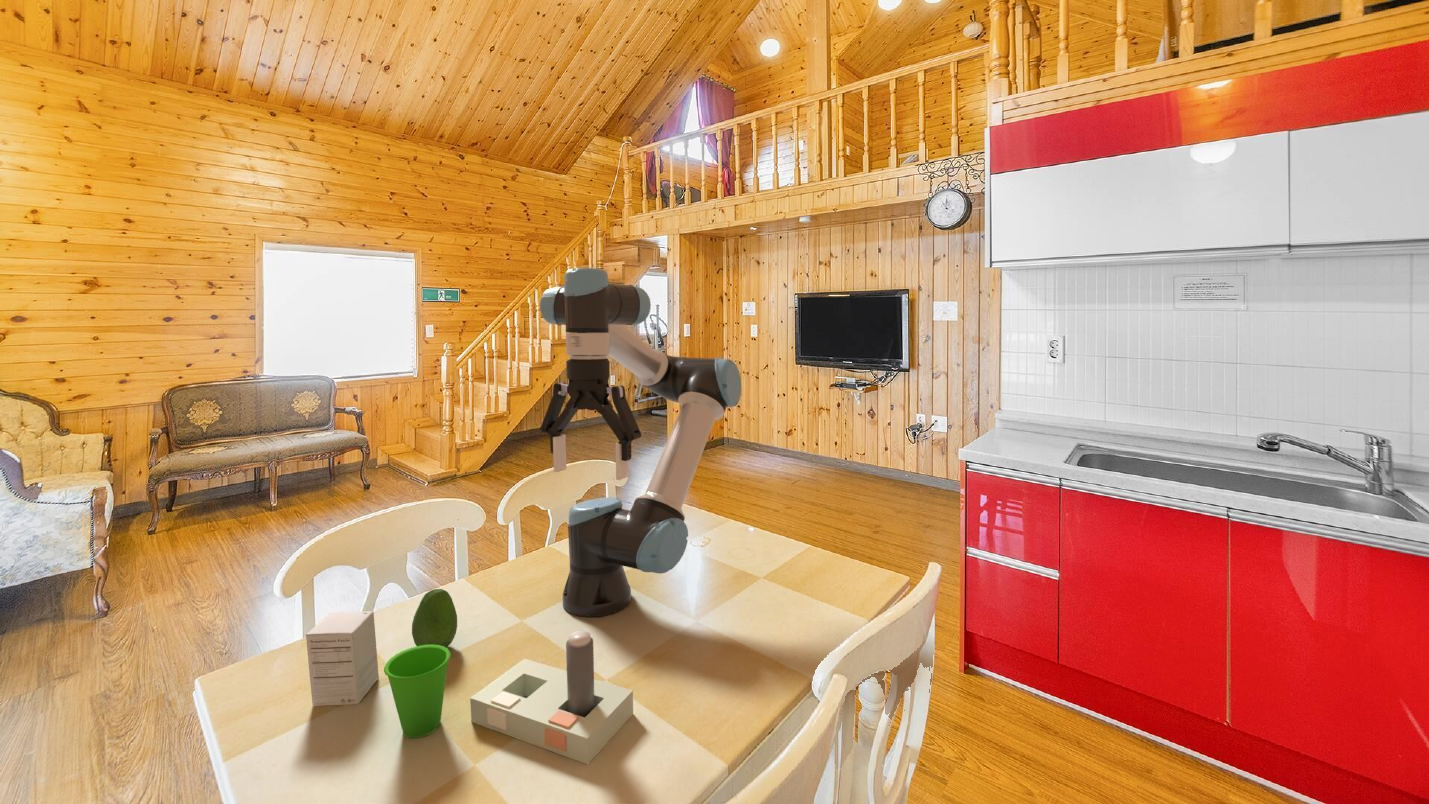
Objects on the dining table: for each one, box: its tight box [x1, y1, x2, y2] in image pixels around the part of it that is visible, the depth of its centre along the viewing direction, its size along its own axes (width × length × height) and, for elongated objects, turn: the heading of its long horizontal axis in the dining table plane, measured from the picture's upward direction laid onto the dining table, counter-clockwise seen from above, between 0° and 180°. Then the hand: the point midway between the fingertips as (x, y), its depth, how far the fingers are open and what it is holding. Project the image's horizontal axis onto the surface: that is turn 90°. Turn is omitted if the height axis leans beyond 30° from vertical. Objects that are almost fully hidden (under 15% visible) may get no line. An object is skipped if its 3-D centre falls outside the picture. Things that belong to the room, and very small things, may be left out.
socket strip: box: [469, 658, 634, 765], centre depth 91 cm, size 22×12×4 cm, turn 66°
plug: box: [565, 630, 595, 717], centre depth 89 cm, size 4×4×15 cm
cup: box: [383, 645, 452, 739], centre depth 89 cm, size 9×9×11 cm
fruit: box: [411, 588, 458, 649], centre depth 110 cm, size 8×8×12 cm
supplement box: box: [305, 610, 380, 707], centre depth 97 cm, size 7×7×13 cm
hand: (590, 474), depth 106 cm, fingers open, 13 cm apart
